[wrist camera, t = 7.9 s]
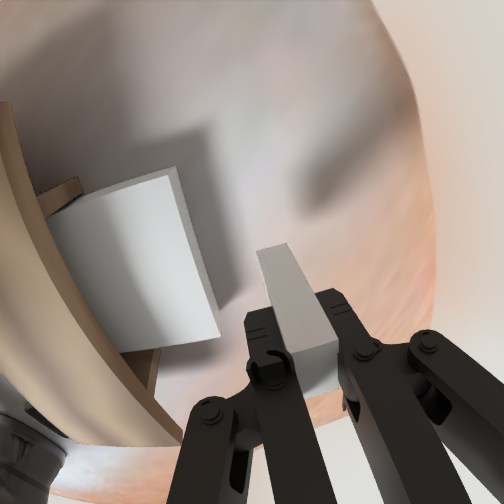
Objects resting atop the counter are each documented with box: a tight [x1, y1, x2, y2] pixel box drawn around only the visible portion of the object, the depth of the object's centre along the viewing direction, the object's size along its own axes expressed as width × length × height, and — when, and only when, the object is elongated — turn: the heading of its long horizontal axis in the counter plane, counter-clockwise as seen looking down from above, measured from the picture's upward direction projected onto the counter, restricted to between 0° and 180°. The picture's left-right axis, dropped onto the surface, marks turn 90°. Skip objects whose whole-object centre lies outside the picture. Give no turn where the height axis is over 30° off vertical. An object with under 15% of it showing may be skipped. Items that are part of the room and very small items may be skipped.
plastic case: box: [45, 166, 221, 353], centre depth 16 cm, size 14×10×3 cm
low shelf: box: [0, 102, 183, 447], centre depth 14 cm, size 11×24×6 cm, turn 13°
